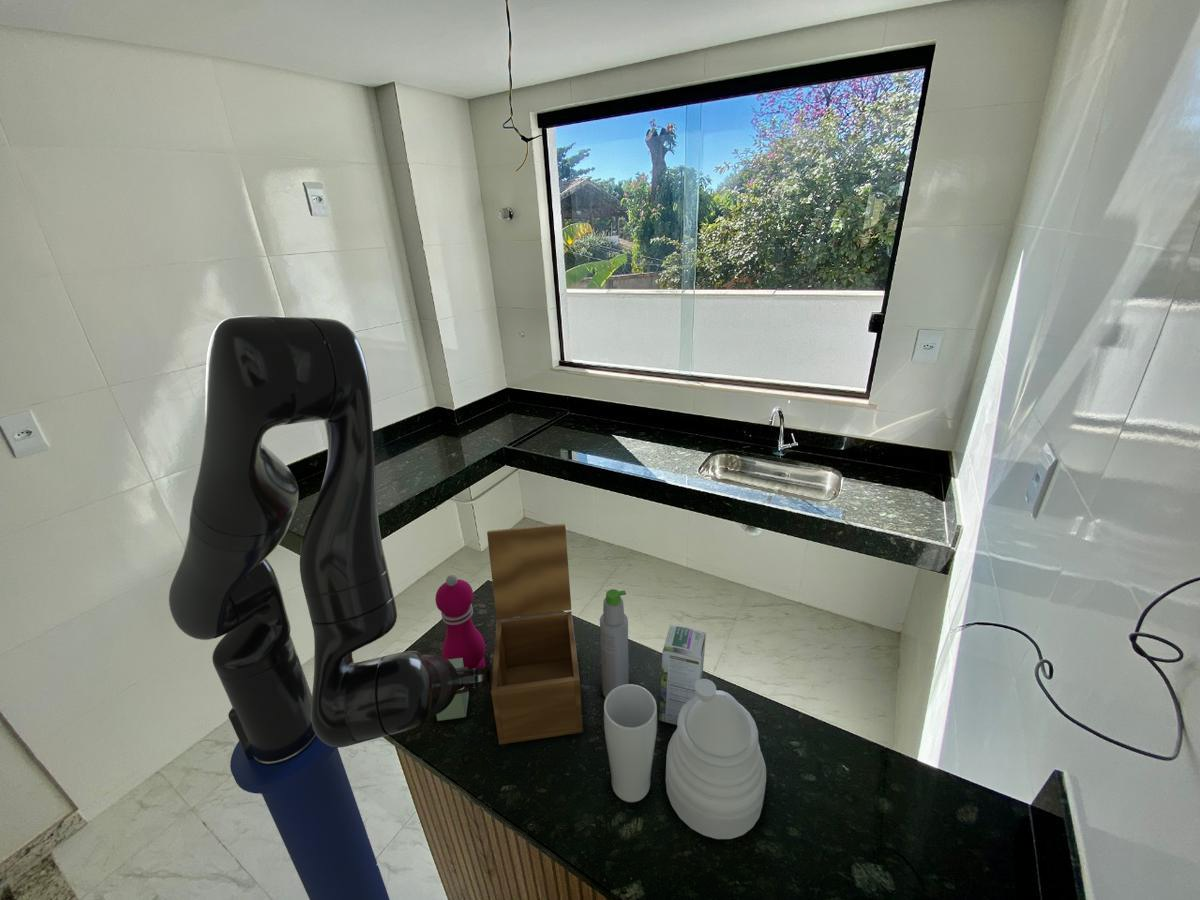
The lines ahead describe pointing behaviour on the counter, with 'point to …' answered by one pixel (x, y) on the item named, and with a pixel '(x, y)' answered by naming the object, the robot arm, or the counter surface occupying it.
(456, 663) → the block
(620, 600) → the bottle
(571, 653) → the keepsake box
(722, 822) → the honey pot
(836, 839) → the counter surface
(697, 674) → the syrup box
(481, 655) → the pepper mill
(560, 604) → the cover
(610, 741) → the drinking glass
